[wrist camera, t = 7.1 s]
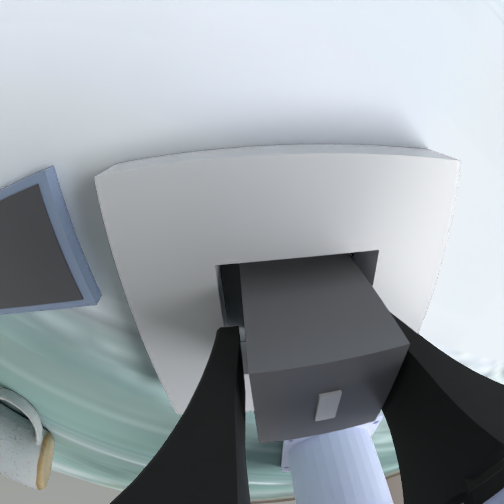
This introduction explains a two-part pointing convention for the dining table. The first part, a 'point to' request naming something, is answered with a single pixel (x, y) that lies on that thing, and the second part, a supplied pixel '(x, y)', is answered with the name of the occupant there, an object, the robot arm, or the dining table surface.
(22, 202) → the phone
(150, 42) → the dining table surface
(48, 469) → the ceramic mug
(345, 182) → the outlet plate
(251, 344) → the block
